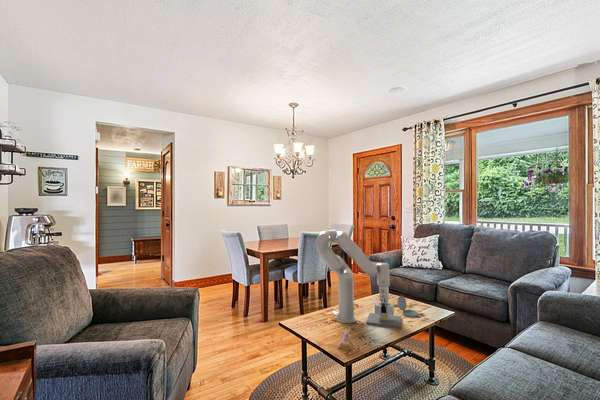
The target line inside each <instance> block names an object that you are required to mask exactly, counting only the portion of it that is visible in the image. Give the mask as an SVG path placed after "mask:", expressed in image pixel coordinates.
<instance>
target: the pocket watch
mask: <svg viewBox="0 0 600 400" xmlns="http://www.w3.org/2000/svg"><path fill="white" fill-rule="evenodd" d="M396 303H397V307H398V309H399V310H400V311H402V314H403V316H406V317H409V318H416V317H419V318H420V317H422V315H420V314H419V311H416V310H413V309H406V308H407V300H406V298H405V296H403V295H399V296H398V297H397V301H396Z"/></svg>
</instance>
